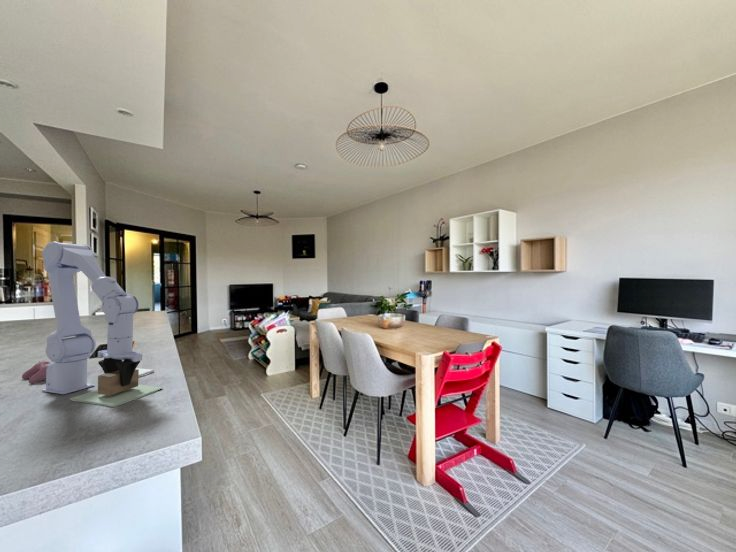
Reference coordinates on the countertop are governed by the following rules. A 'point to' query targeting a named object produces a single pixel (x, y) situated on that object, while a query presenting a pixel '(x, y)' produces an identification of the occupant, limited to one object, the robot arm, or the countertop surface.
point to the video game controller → (36, 372)
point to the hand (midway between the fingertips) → (119, 384)
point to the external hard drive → (144, 371)
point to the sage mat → (116, 396)
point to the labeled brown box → (115, 383)
